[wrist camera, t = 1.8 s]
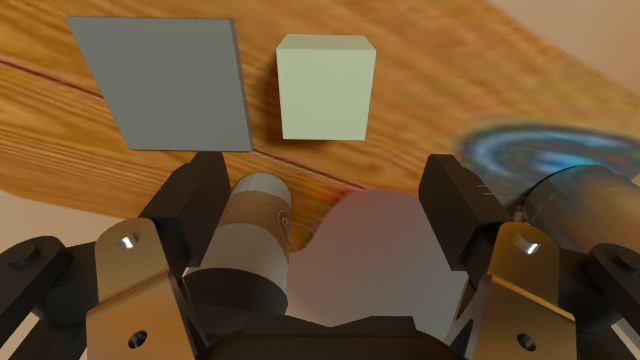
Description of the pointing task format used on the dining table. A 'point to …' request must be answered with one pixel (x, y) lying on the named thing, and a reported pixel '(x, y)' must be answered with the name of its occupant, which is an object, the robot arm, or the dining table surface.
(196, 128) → the slate board
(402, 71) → the dining table surface
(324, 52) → the sage block
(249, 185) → the coffee cup
